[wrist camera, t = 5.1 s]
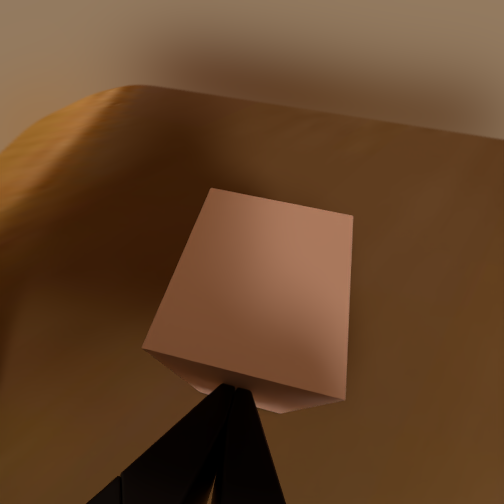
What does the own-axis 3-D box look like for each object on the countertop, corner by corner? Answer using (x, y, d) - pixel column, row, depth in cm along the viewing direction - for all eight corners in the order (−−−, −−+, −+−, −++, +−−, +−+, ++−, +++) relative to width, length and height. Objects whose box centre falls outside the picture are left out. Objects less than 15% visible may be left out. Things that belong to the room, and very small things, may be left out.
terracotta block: (280, 413, 13) (345, 400, 5) (200, 392, 13) (141, 348, 5) (293, 323, 15) (353, 215, 7) (225, 307, 16) (210, 187, 8)
